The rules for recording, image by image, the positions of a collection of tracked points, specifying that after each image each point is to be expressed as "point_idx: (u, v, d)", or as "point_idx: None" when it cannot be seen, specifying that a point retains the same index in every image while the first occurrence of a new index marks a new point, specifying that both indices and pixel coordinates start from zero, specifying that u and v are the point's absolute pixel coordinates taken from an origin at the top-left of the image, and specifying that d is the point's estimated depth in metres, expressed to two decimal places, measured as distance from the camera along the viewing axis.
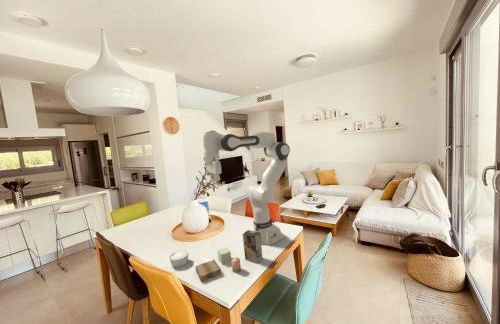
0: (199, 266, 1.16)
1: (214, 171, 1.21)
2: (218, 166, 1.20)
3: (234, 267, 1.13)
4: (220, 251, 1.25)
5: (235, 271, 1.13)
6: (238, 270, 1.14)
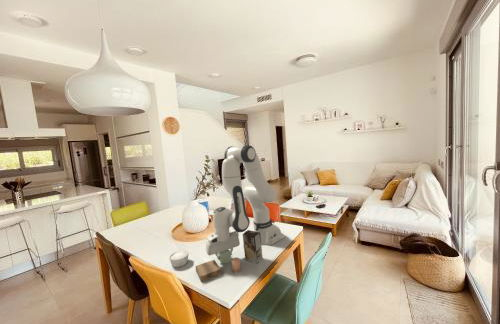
0: (199, 266, 1.16)
1: (236, 244, 1.27)
2: None
3: (234, 267, 1.13)
4: None
5: (235, 271, 1.13)
6: (238, 270, 1.14)
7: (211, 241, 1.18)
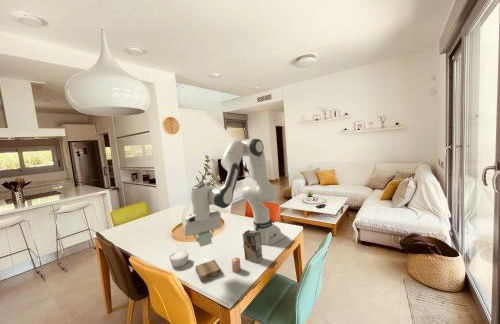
0: (199, 266, 1.16)
1: (217, 225, 1.15)
2: None
3: (234, 267, 1.13)
4: None
5: (235, 271, 1.13)
6: (238, 270, 1.14)
7: (188, 220, 1.06)
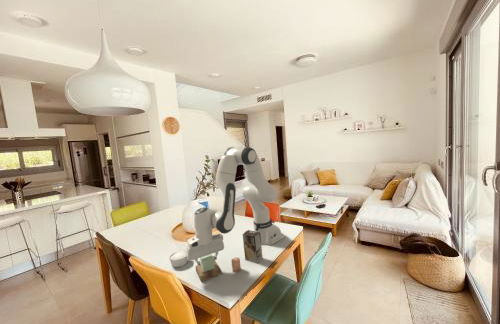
0: (199, 266, 1.16)
1: (220, 248, 1.16)
2: None
3: (234, 267, 1.13)
4: (202, 257, 1.14)
5: (235, 271, 1.13)
6: (238, 270, 1.14)
7: (191, 245, 1.07)
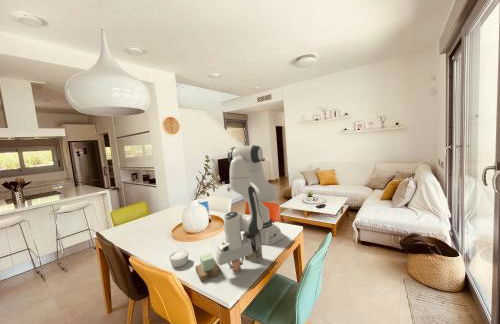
0: (199, 266, 1.16)
1: (248, 252, 1.16)
2: None
3: (234, 267, 1.13)
4: (202, 257, 1.14)
5: (235, 271, 1.13)
6: (238, 270, 1.14)
7: (222, 250, 1.08)
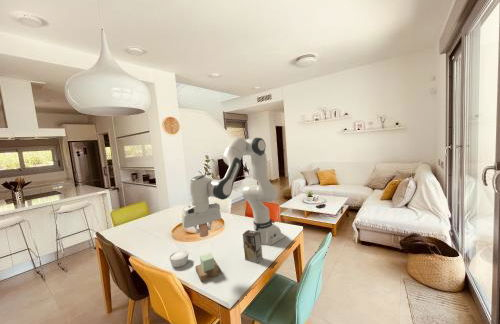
0: (199, 266, 1.16)
1: (216, 217, 1.14)
2: None
3: (201, 231, 1.11)
4: (202, 257, 1.14)
5: (202, 235, 1.11)
6: (205, 234, 1.11)
7: (187, 212, 1.05)
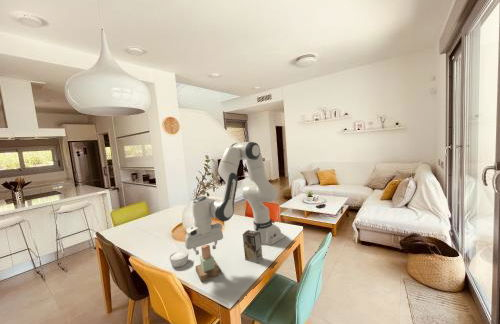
0: (199, 266, 1.16)
1: (219, 237, 1.15)
2: None
3: (203, 254, 1.12)
4: None
5: (204, 258, 1.12)
6: (208, 257, 1.12)
7: (190, 233, 1.07)
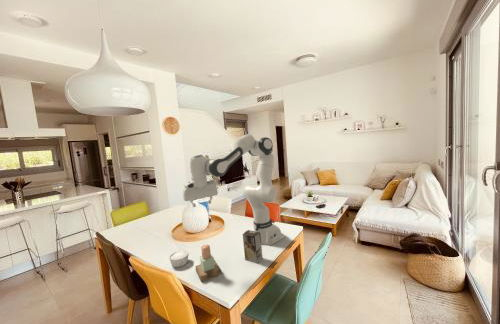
0: (199, 266, 1.16)
1: (214, 193, 1.27)
2: None
3: (203, 254, 1.12)
4: None
5: (204, 258, 1.12)
6: (208, 257, 1.12)
7: (187, 186, 1.19)
